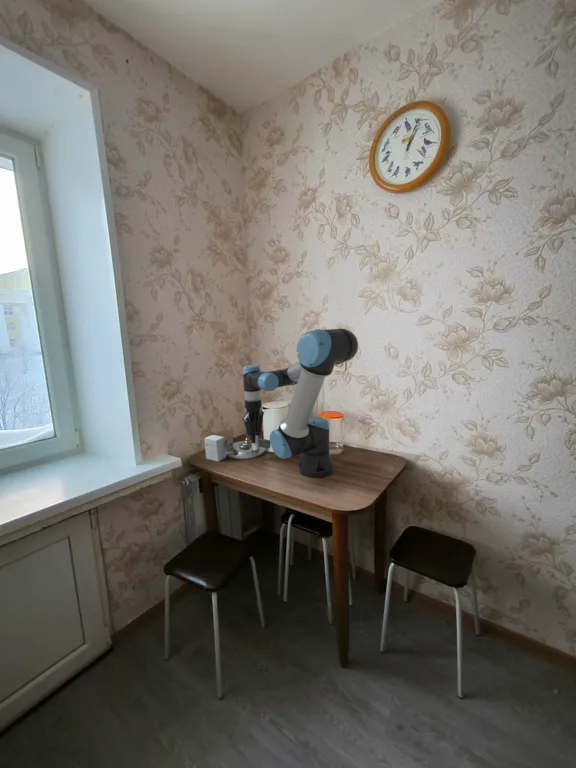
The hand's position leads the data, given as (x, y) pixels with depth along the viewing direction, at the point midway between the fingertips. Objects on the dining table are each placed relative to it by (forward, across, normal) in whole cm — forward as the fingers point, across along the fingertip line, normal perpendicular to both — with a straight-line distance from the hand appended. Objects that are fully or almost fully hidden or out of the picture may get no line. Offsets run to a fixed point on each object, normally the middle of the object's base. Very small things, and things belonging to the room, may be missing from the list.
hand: (255, 448), depth 154 cm
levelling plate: (+6, -6, -11) cm, 14 cm away
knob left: (+3, +3, -13) cm, 14 cm away
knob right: (+3, -15, -15) cm, 21 cm away
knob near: (+3, -6, -1) cm, 7 cm away
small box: (+6, +8, -18) cm, 21 cm away
